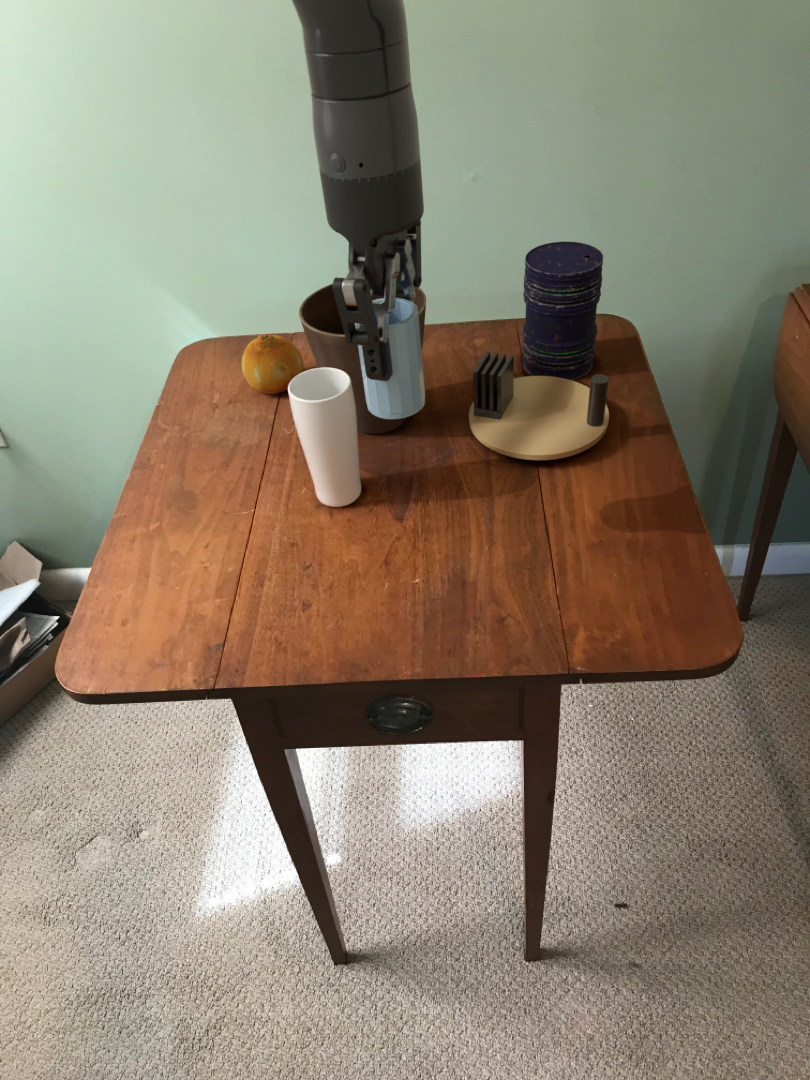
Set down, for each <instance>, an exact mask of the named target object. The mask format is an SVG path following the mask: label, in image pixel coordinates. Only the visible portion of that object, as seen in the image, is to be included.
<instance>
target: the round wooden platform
mask: <svg viewBox="0 0 810 1080" xmlns="http://www.w3.org/2000/svg"><path fill="white" fill-rule="evenodd" d="M514 361H515V355H514V354H509V355H508V357H507V354H506V353H501V355H500V356H499V353H498V352H493V354H492V355H491V351H486V352H485V353H484V355H482V357H481V360H480V361H479V362H478V364H477V366H476V367H475V369H474V370H473V371H472V383H473V386H472V387H473V401H472V403H471V405H470V408H469V411H468V423H469V428H470V431H471V433H472V434H473V436H474V437H475V438H476V439H477V441H479V442H480V443H481V444H482V445H484V446H485V447H487V448H488V449H490V450H491V451H494V452H496V453H497V454H500V455H503V456H505V455H506V456H505V457H508V456H510V457H514V458H519V459H526V460H552V459H559V458H563V459H566V458H565V457H567V458H569V457H568V456H570V457H572V456H575V455H578V454H580V453H582V452H584V451H586V450H589V449H590V448H592V447H593V446H595V445H596V444H597V443H598V442H600V440H601V439H602V438H603V437H604V436H605V434H606V432H607V429H608V427H609V421H610V411H609V408H608V405H607V398H608V397H607V396H608V395H607V394H608V388H609V377H608V376H607V375H605V374H601V373H599V374H593V375H592V376H591V377H590V380H589V381H590V382H589V387H588V386H587V385H584V384H582V383H580V382H577V381H575V380H568V379H564V378H559V377H551V376H532V375H529V376H519V377H514V370H515V369H514V367H515V365H514V364H515V362H514ZM510 457H509V458H510ZM514 458H513V459H514ZM559 460H560V459H559Z"/></svg>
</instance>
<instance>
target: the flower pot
mask: <svg viewBox="0 0 810 1080" xmlns="http://www.w3.org/2000/svg"><path fill="white" fill-rule="evenodd" d="M414 288H415V292H416V298H415V301H414V304H415V305H416V306H417V308H418V316H419V328H420V340H421V352H423V345H424V336H425V326H426V325H425V324H426V323H425V322H426V310H427V297H426V294H425V292H424V291H423V289H422V288H420V287H414ZM371 297H372V301H373V300H376V299H381V298H384V296H375V295H372V296H371ZM298 317H299V320H300V323H301V326H302V329H303V332H304V335H305V337H306V340H307V343H308V345H309V346H308V347H309V348H310V351H311V353H312V356H313V358H314V361H315V363H316V366H317V368H323V367H328V368H336V369H339V370H342V371H344V372H345V373H347V374H348V375H349V377H350V379H351V383H352V388H353V393H354V398H355V405H356V414H357V431H358V432H359V433H362V434H366V435H382V434H387V433H389V432H392V431H395V430H397V429H398V428H399V427H401V426H402V425H403V424H404V422H405V421H406V419H407V417H406V418H401V419H384V418H380V417H377V416H375V415H373V414H372V413H371V412H370V411H369V410H368V408H367V403H366V397H365V390H364V383H363V376H362V369H361V362H360V355H359V349H358V345H352V344H348V343H347V341H346V337H345V334H344V330H343V326H342V322H341V319H340V315H339V311H338V307H337V303H336V300H335V296H334V292H333V283H330V284H328V285H325V286H323V287H321V288H319V289H317V290H316V291H314V292H313V293H311V294H310V295H309V296H307V297H306V298H305V299H304V300H303V302H302V303H301V305H300V306H299V309H298Z"/></svg>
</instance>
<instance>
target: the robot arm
mask: <svg viewBox="0 0 810 1080" xmlns="http://www.w3.org/2000/svg"><path fill="white" fill-rule="evenodd" d="M290 1H291V3H292V5H293V8H294V10H295V13H296V15H297V17H298V21H299V24H300V27H301V35H302V44H303V48H304V49H303V50H304V57H305V64H306V70H307V76H308V82H309V89H310V90H309V91H310V92H311V93H310V96H311V110H312V111H311V112H312V113H311V114H312V118H311V119H312V131H313V138H314V145H315V151H316V157H317V158H316V159H317V164H318V171H319V177H320V185H321V190H322V196H323V197H322V198H323V202H324V209H325V215H326V222H327V224H328V226H329V228H331V230H333V231H334V232H335V233H337V234H339V235H341V236H342V237H343V238H344V239H346V241H347V242H348V258H347V262H348V263H347V270H348V273H347V275H346V277H334V278H333V281H332V284H333V292H334V296H335V300H336V303H337V307H338V311H339V315H340V319H341V322H342V326H343V330H344V334H345V337H346V341H347V343H348V344H352V345H362V350H363V357H364V364H365V371H366V376H367V377H368V378H369V379H371V380H380V381H388V380H389V379H390V378H391V376H392V374H393V371H392V362H391V353H390V344H389V338H388V336H389V334H388V332H389V314H390V313H391V312H393V311H394V310H395V301H396V298H402V299H406V300H409V301H412V302H413V303H414V301H415V298H416V292H415V288H414V287H419V288H420V287H421V284H422V282H423V277H422V220H421V219H422V218H423V216H424V211H425V206H424V205H425V203H424V190H423V177H422V176H423V175H422V164H421V163H422V162H421V160H422V159H421V148H420V147H421V146H420V135H419V121H418V113H417V107H416V101H415V97H414V93H413V85H412V84H413V83H412V74H411V59H410V47H409V33H408V32H409V31H408V22H407V13H406V7H405V2H404V0H290ZM372 295H375V296H384V300H383V301H382V302H376V301H372V297H371V296H372ZM375 312H376V313H377V314H378V325H377V320H376V316H375ZM355 323H356V326H355Z"/></svg>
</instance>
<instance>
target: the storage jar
mask: <svg viewBox="0 0 810 1080" xmlns="http://www.w3.org/2000/svg"><path fill="white" fill-rule="evenodd" d="M603 265H604V253H603V252H602V251H601V250H600V249H598V248H597V247H595V246H593V245H591V244H587V243H584V242H578V241H553V242H548V243H543V244H540V245H538V246H536V247H534V248H532V249H530V250H529V251H528V252H527V253H526V255H525V258H524V267H525V268H524V276H523V293H522V295H523V301H524V304H525V320H524V321H525V322H524V323H523V326H522V331H521V335H522V338H521V339H522V340H521V344H522V345H521V347H522V367H523V369H524V370H525V372H527V373H528V374H529V375H530V376H551V377H559V378H564V379H568V380H572V381H574V380H577V379H580V378H582V377H583V376H585V375H587V374H588V373H590V371H591V370H592V369H593V366H594V356H595V351H596V347H597V336H598V326H597V322H596V321H597V320H596V319H597V309H598V304H599V302H600V300H601V299H600V298H601V297H602V291H601V290H602V285H603Z"/></svg>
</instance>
